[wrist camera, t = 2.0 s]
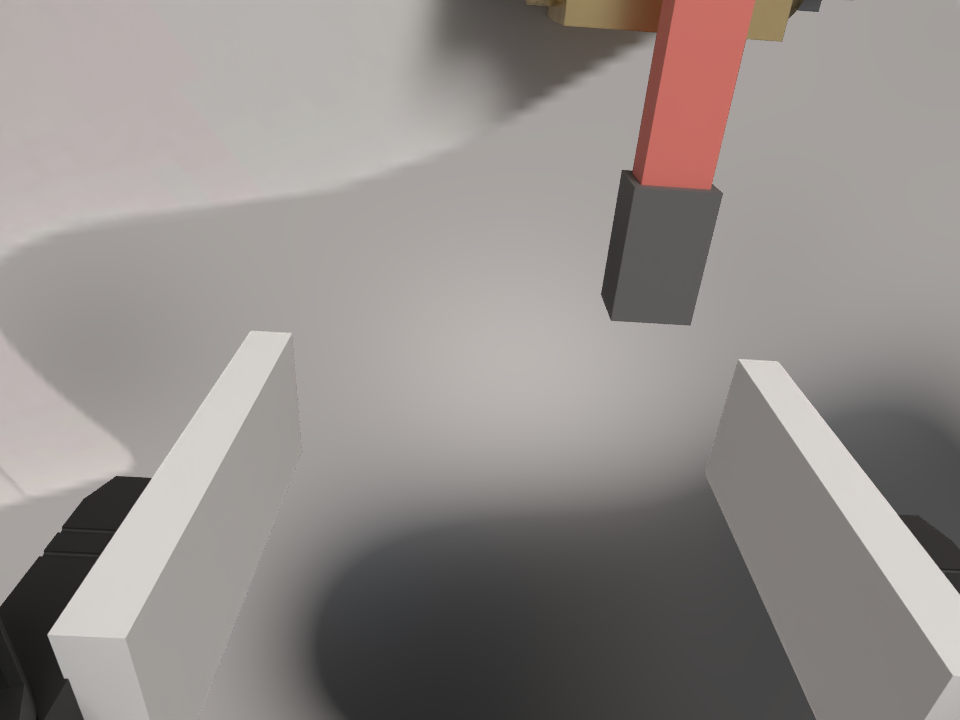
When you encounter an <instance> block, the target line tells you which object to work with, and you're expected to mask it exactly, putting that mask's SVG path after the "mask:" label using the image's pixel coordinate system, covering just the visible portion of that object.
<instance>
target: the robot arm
mask: <svg viewBox="0 0 960 720" xmlns="http://www.w3.org/2000/svg"><path fill="white" fill-rule="evenodd" d="M301 453H302V445H301V432H300V421H299V409H298V397H297V385H296V374H295V362H294V350H293V338H292V333H281V332H264V331H250V333H249V334H248V336H247V337H246V339H245V340H244V342H243V343H242V345H241V346H240V348H239V349H238V351H237V352H236V353H235V355H234V357H233V358H232V359H231V361H230V362H229V364H228V365H227V367H226V368H225V370H224V372H223V373H222V374H221V376H220V377H219V379H218V381H217V382H216V384H215V385H214V386H213V388H212V390H211V391H210V392H209V394H208V395H207V397H206V398H205V400H204V401H203V403H202V404H201V406H200V407H199V409H198V410H197V412H196V413H195V415H194V416H193V418H192V419H191V421H190V422H189V424H188V425H187V427H186V428H185V430H184V432H183V433H182V434H181V436H180V437H179V439H178V440H177V442H176V443H175V445H174V446H173V448H172V449H171V451H170V452H169V454H168V455H167V457H166V458H165V460H164V461H163V463H162V464H161V466H160V467H159V469H158V470H157V472H156V473H155V475H154V476H153V478H142V477H123V476H116V477H114V478H113V479H111V480H110V481H109V482H107V483H106V484H104V485H103V486H101V487H100V488H99V489H97V490H96V491H94V492H93V493H92V494H90V495H89V496H87V497H86V498H84V499H83V501H82V502H81V503H80V505H79V506H78V507H77V508H76V510H75V511H74V512H73V513H72V515H71V516H70V517H69V519H68V520H67V521H66V523H65V524H64V525H63V526H62V531H61V533H57V534H56V536H55V537H54V538H53V539H52V541H51V542H50V543H49V544H48V546H47V547H46V548H45V550H44V555H43V556H42V557H41V556H39V557H38V559H37V560H36V561H35V563H34V564H33V565H32V566H31V568H30V569H29V570H28V572H27V573H26V574H25V575H24V577H23V578H22V579H21V581H20V582H19V583H18V584H17V586H16V587H15V588H14V590H13V591H12V592H11V594H10V595H9V596H8V597H7V599H6V600H5V601H4V603H3V604H2V605H1V606H0V720H199V717H200V714H201V712H202V709H203V706H204V704H205V702H206V699H207V696H208V694H209V691H210V688H211V686H212V683H213V681H214V678H215V675H216V673H217V670H218V668H219V665H220V663H221V660H222V658H223V655H224V652H225V650H226V647H227V645H228V642H229V639H230V637H231V634H232V632H233V629H234V626H235V624H236V621H237V618H238V616H239V614H240V611H241V608H242V606H243V603H244V601H245V598H246V595H247V593H248V590H249V588H250V585H251V583H252V580H253V577H254V575H255V572H256V570H257V567H258V564H259V562H260V559H261V557H262V554H263V551H264V549H265V546H266V544H267V541H268V538H269V536H270V533H271V531H272V528H273V526H274V523H275V520H276V518H277V515H278V513H279V510H280V507H281V505H282V502H283V500H284V497H285V494H286V492H287V489H288V487H289V484H290V482H291V479H292V477H293V474H294V471H295V469H296V466H297V463H298V461H299V458H300V456H301ZM705 474H706V477H707V479H708V481H709V483H710V485H711V488H712V490H713V492H714V494H715V496H716V499H717V501H718V503H719V505H720V507H721V510H722V512H723V514H724V516H725V518H726V521H727V523H728V525H729V527H730V529H731V532H732V534H733V536H734V538H735V540H736V543H737V545H738V547H739V549H740V552H741V554H742V556H743V558H744V560H745V563H746V565H747V567H748V569H749V572H750V574H751V576H752V578H753V580H754V583H755V585H756V587H757V589H758V591H759V593H760V596H761V598H762V600H763V602H764V605H765V607H766V609H767V611H768V614H769V616H770V618H771V620H772V622H773V625H774V627H775V629H776V631H777V633H778V636H779V638H780V640H781V642H782V644H783V647H784V649H785V651H786V653H787V656H788V657H789V660H790V662H791V664H792V667H793V669H794V671H795V673H796V675H797V678H798V680H799V682H800V684H801V686H802V688H803V691H804V693H805V695H806V698H807V700H808V702H809V704H810V706H811V709H812V711H813V713H814V715H815V717H816V720H960V550H959V549H958V547H957V546H956V545H955V544H954V543H953V541H952V540H950V539H949V538H948V537H946V536H945V535H943V534H942V533H941V532H939V531H938V530H937V529H935V528H934V527H933V526H931V525H930V524H929V523H927V522H926V521H925V520H923V519H922V518H921V517H919V516H913V515H897V513H896V512H895V511H894V510H893V508H892V507H891V506H890V505H889V503H888V502H887V501H886V499H885V498H884V497H883V495H882V494H881V493H880V492H879V490H878V489H877V488H876V487H875V485H874V484H873V483H872V482H871V480H870V479H869V478H868V476H867V475H866V474H865V472H863V470H862V469H861V467H860V466H859V465H858V463H857V462H856V461H855V460H854V458H853V457H852V456H851V455H850V453H849V452H848V451H847V449H846V448H845V447H844V445H843V444H842V443H841V442H840V440H839V439H838V438H837V436H836V435H835V434H834V433H833V431H832V430H831V429H830V427H829V426H828V425H827V424H826V422H825V421H824V420H823V419H822V417H821V416H820V415H819V413H818V412H817V411H816V410H815V408H814V407H813V406H812V404H811V403H810V402H809V401H808V399H807V398H806V397H805V395H804V394H803V393H802V392H801V390H800V389H799V388H798V386H797V385H796V384H795V383H794V381H793V380H792V379H791V377H790V376H789V375H788V374H787V372H786V371H785V370H784V368H783V367H782V366H781V365H780V363H779V362H778V361H762V360H745V359H738V362H737V365H736V369H735V372H734V376H733V379H732V383H731V386H730V389H729V393H728V396H727V399H726V403H725V406H724V410H723V413H722V416H721V420H720V423H719V427H718V430H717V433H716V437H715V440H714V444H713V447H712V451H711V454H710V457H709V461H708V464H707V468H706V471H705Z"/></svg>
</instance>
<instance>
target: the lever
mask: <svg viewBox="0 0 960 720" xmlns="http://www.w3.org/2000/svg"><path fill="white" fill-rule="evenodd" d="M754 4H755V0H663V1H662V7H661V13H660V18H659V24H658V30H657V36H656V41H655V47H654V53H653V59H652V64H651V70H650V76H649V81H648V87H647V92H646V98H645V104H644V110H643V116H642V121H641V126H640V133H639V138H638V144H637V149H636V155H635V161H634V166H633V171H628V170H622V174H621V179H620V186H619V192H618V198H617V203H616V209H615V215H614V221H613V227H612V233H611V239H610V245H609V251H608V257H607V263H606V268H605V275H604V280H603V287H602V293H601V295H602V298H603V301H604V303H605V306H606V309H607V311H608V314H609V316H610V319H611V321H626V322H642V323H659V324H675V325H691V321H692V317H693V313H694V309H695V305H696V300H697V296H698V292H699V288H700V284H701V280H702V276H703V272H704V268H705V264H706V260H707V256H708V252H709V247H710V244H711V240H712V236H713V232H714V227H715V223H716V219H717V215H718V211H719V207H720V203H721V199H722V195H723V193H722V192H721V191H720V190H719V189H717V188H716V187H715V186H714V185H713V184H712V182H713V177H714V173H715V169H716V165H717V161H718V156H719V152H720V148H721V143H722V139H723V135H724V131H725V127H726V122H727V118H728V114H729V110H730V106H731V101H732V97H733V93H734V89H735V84H736V80H737V76H738V72H739V68H740V63H741V59H742V55H743V50H744V46H745V42H746V38H747V34H748V29H749V25H750V21H751V17H752V13H753V8H754Z"/></svg>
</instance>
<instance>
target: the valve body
mask: <svg viewBox="0 0 960 720" xmlns="http://www.w3.org/2000/svg"><path fill="white" fill-rule="evenodd" d="M662 1H663V0H525V3H526V5H539V6H548V15H547V17H548V18H550V19H552V20H554V21H556V22H558V23H560V24H562V25H564V26H575V27H589V28H603V29H616V30H630V31H644V32H657V30H658V24H659V18H660V13H661V7H662ZM821 1H822V0H755V4H754V8H753V13H752V17H751V21H750V25H749V29H748V34H747V38H746V39H755V40H769V41H781V42H782V40H783V35H784V32H785V28H786V24H787V21H788V18H790V17H791V16H792V15H793V14H794V13H795V12H796V10H800V11H813V12H818V11H819V8H820V4H821Z"/></svg>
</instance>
